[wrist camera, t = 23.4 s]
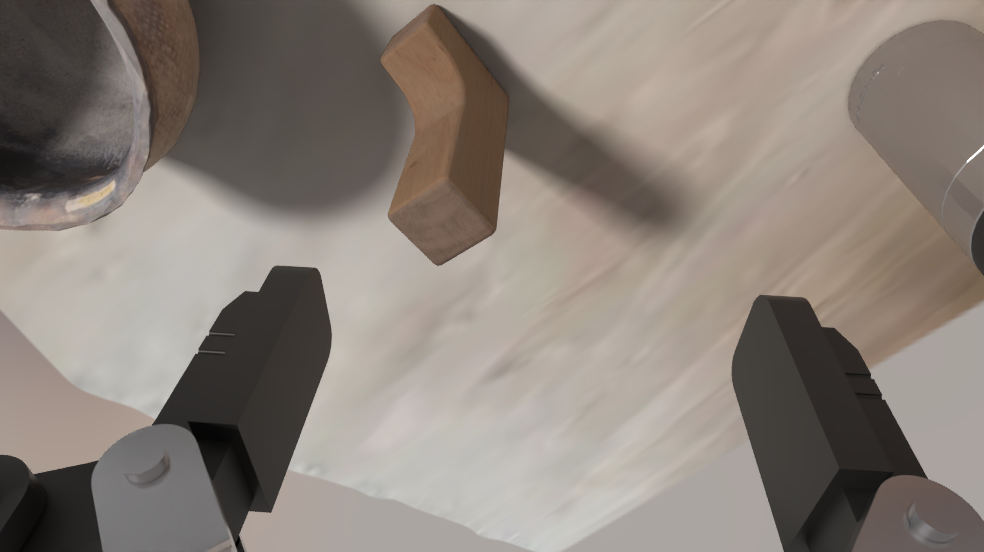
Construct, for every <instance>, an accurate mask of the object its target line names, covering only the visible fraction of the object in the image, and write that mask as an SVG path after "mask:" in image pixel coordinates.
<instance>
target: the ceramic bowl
mask: <svg viewBox="0 0 984 552" xmlns="http://www.w3.org/2000/svg"><path fill="white" fill-rule="evenodd" d="M199 73H200V53H199V43H198V37H197V28H196V24H195V20H194V17H193V13H192V10H191V7H190V4H189V1H188V0H0V229H8V230H52V231H60V230H64V229H68V228H72V227H76V226H80V225H85V224H89V223H91V222H93V221H95V220H98V219H100V218H102V217H104V216H106V215H108V214H109V213H111V212H112V211H114V210H115V209H117V208H118V207H120V206H121V205H122V204H123V203H124V202H125V201H126V199H127V197H128V196H129V195H130V194H131V193H132V192H133V190H134V189H135V187H136V185H137V184H138V183H139V181H140V180H141V177H142V175H143V172H145V171H146V170H148V169H149V168H150V167H152V166H153V165H154V164H155V163H156V162H158V161H159V160H160V159H161V158H162V157H164V156H165V155H166V154H167V153H168V152H169V151H170V149H171V148H172V147H173V146H174V145H175V144H176V142H177V140H178V138H179V137H180V135H181V133H182V131H183V129H184V127H185V125H186V123H187V121H188V119H189V117H190V114H191V112H192V109H193V106H194V103H195V100H196V96H197V87H198V81H199Z"/></svg>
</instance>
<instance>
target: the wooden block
mask: <svg viewBox="0 0 984 552" xmlns="http://www.w3.org/2000/svg"><path fill="white" fill-rule="evenodd" d="M380 61H381V63H382V65H383V66H384V68H385V69H386V70H387V72H388V73H389V74H390V75H391V77H392V78H393V79H394V81H395V82H396V83H397V85H398V86H399V87H400V89H401V90H402V91H403V92H404V94H405V96H406V98H407V101H408V103H409V105H410V108H411V110H412V112H413V115H414V117H415V137H414V140H413V143H412V146H411V149H410V152H409V154H408V157H407V160H406V163H405V166H404V169H403V172H402V175H401V177H400V180H399V183H398V186H397V189H396V192H395V195H394V198H393V200H392V203H391V206H390V209H389V212H388V218H389V219H390V221H391V222H392V223H393V224H394V225H395V226H396V227H397V228H398V229H399V230H400V231H401V232H402V233H403V234H404V235H405V236H406V237H407V238H408V239H409V240H410V241H411V242H412V243H413V244H414V245H415V246H416V247H417V248H418V249H420V250H421V251H422V252H423V253H424V254H425V255H426V256H427V257H428V258H429V259H430V260H431V261H432V262H433V263H434V264H435V265H437V266H439V265H442V264H444V263H446V262H447V261H449V260H451V259H452V258H454V257H456V256H457V255H459V254H461V253H462V252H464V251H466V250H468V249H469V248H471V247H473V246H474V245H476V244H478V243H479V242H481V241H483V240H484V239H486V238H488V237H489V236H491V235H492V234H493V233H494V232H495V231H496V227H497V217H498V207H499V197H500V187H501V178H502V168H503V158H504V148H505V138H506V128H507V118H508V109H509V97H508V95H507V94H506V93H505V92H504V90H503V89H502V88H501V86H500V85H499V84H498V83H497V81H496V80H495V79H494V77H493V76H492V75H491V74H490V72H489V71H488V70H487V68H486V67H485V66H484V65H483V63H482V62H481V61H480V59H479V58H478V57H477V56H476V54H475V53H474V52H473V50H472V49H471V48H470V47H469V45H468V44H467V43H466V41H465V40H464V39H463V38H462V36H461V35H460V34H459V32H458V31H457V30H456V29H455V27H454V26H453V25H452V24H451V22H450V21H449V20H448V18H447V17H446V16H445V15H444V13H443V12H442V11H441V9H440V8H439V7H438V6H437V5H435V4H433V5H430V6H429V7H428V8H426V9H425V10H424V11H423V12H422V13H420V14H419V15H418V16H417V17H416V18H415V19H413V20H412V21H411V22H410V23H409V24H407V25H406V26H405V27H404V28H403V29H402V30H400V31H399V32H398V33H397V34H396V35H394V36H393V37H392V39H391V41H390V42H389V44H388V46H387V48H386V49H385V51H384V53H383V55H382V57H381V59H380Z"/></svg>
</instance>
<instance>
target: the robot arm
mask: <svg viewBox="0 0 984 552" xmlns="http://www.w3.org/2000/svg"><path fill="white" fill-rule="evenodd" d="M848 109H849V114H850V118H851V120H852V122H853V124H854V126H855V127H856V129H857V130H858V131H859V132H860V133H861V134H862V136H863V137H864V138H865V139H866V140H867V141H868V143H869V144H870V145H871V146H872V147H873V148H874V149H875V151H876V152H877V153H878V154H879V156H880V157H881V158H882V159H883V160H884V161H885V162H886V164H887V165H888V166H889V167H890V168H891V169H892V171H893V172H894V173H895V174H896V175H897V176H898V177H899V179H900V180H901V181H902V182H903V183H904V184H905V185H906V187H907V188H908V189H909V190H910V191H911V192H912V194H913V195H914V196H915V197H916V198H917V199H918V200H919V202H920V203H921V204H922V205H923V206H924V207H925V209H926V210H927V211H928V212H929V213H930V214H931V215H932V217H933V218H934V219H935V220H936V221H937V222H938V223H939V225H940V226H941V227H942V228H943V229H944V230H945V232H946V233H947V234H948V235H949V236H950V237H951V238H952V240H954V242H955V243H956V244H957V245H958V246H959V247H960V248H961V250H962V251H963V252H964V253H965V254H966V255H967V256H968V258H969V259H970V260H971V261H972V262H973V263H974V265H975V266H976V267H977V268H978V269H979V270H980V272H981V273H982V274H983V275H984V34H983V33H981V32H979V31H978V30H976V29H974V28H973V27H971V26H969V25H967V24H964V23H960V22H957V21H942V20H940V21H934V22H928V23H923V24H921V25H918V26H915V27H912V28H909V29H907V30H905V31H903V32H901V33H899V34H898V35H896V36H894V37H892V38H891V39H890V40H888V41H887V42H886V43H884V44H883V45H881V46H880V47H879V48H878V49H877V50H876V51H875V52H874V53H873V54H872V55H871V56H870V57H869V58H868V59H867V60H866V62H865V63H864V65H863V66H862V67H861V69H860V70H859V71H858V73H857V75H856V77H855V79H854V81H853V83H852V87H851V90H850V94H849V102H848ZM331 340H332V332H331V324H330V319H329V314H328V309H327V304H326V299H325V294H324V289H323V284H322V279H321V275H320V272H319V271H318V269H317V268H310V267H293V266H275V267H273V268H272V269H271V271H270V273H269V274H268V276H267V278H266V280H265V282H264V283H263V285H262V287H261V289H260V291H259V292H249V291H245V292H243V293H242V294H241V295H240V296H238V297H237V298H236V299H235V300H234V301H232V302H231V303H230V304H229V305H227V306H226V307H225V308H224V309H222V311H221V313H220V314H219V316H218V318H217V319H216V321H215V323H214V324H213V326H212V328H211V329H210V331H209V336H206V337H205V339H204V341H203V342H202V344H201V346H200V347H199V352H198V354H195V356H194V357H193V359H192V361H191V362H190V364H189V366H188V367H187V369H186V371H185V372H184V374H183V375H182V377H181V379H180V380H179V382H178V384H177V385H176V387H175V389H174V390H173V392H172V394H171V395H170V397H169V399H168V400H167V402H166V404H165V405H164V407H163V409H162V410H161V412H160V414H159V415H158V417H157V418H156V420H155V422H154V423H153V424H152V426H148V427H145V428H142V429H138V430H136V431H134V432H132V433H130V434H128V435H126V436H124V437H123V438H121V439H120V440H118V441H117V442H116V443H115V444H113V445H112V446H111V447H110V448H109V449H108V450H107V451H106V452H105V453H104V454H103V455H102V457H101V458H100V459H99V460H98V461H94V462H91V463H86V464H81V465H76V466H71V467H67V468H62V469H57V470H52V471H47V472H43V473H38V474H33V473H32V472H31V471H30V470H29V468H28V467H27V466H26V464H25V463H24V462H23V461H22V460H20V459H18V458H16V457H13V456H8V455H0V552H246V549H245V546H244V543H243V540H242V537H241V535H240V531H241V528H242V526H243V524H244V521H245V519H246V516H247V514H248V511H255V512H270V513H271V512H272V509H273V506H274V504H275V501H276V498H277V495H278V493H279V490H280V488H281V485H282V482H283V479H284V477H285V474H286V471H287V469H288V466H289V463H290V461H291V458H292V455H293V453H294V450H295V447H296V445H297V442H298V439H299V437H300V434H301V431H302V428H303V426H304V423H305V420H306V418H307V415H308V412H309V410H310V407H311V404H312V402H313V399H314V396H315V394H316V391H317V388H318V385H319V383H320V380H321V377H322V375H323V372H324V369H325V367H326V364H327V361H328V358H329V354H330V349H331ZM732 382H733V387H734V390H735V393H736V397H737V400H738V403H739V406H740V410H741V413H742V416H743V420H744V423H745V426H746V429H747V433H748V436H749V439H750V442H751V445H752V449H753V452H754V455H755V458H756V462H757V465H758V468H759V472H760V475H761V478H762V481H763V485H764V488H765V491H766V494H767V498H768V501H769V504H770V507H771V511H772V514H773V517H774V520H775V524H776V527H777V530H778V533H779V537H780V540H781V543H782V547H783V550H784V552H984V521H983V520H982V518H981V517H980V516H979V514H978V513H977V512H976V511H975V510H974V509H973V507H972V506H971V505H970V504H969V503H967V502H966V501H965V500H964V499H963V498H962V497H960V496H959V495H957V494H956V493H955V492H953V491H951V490H950V489H948V488H947V487H945V486H943V485H941V484H939V483H937V482H935V481H932V480H929V479H928V478H927V476H926V475H925V473H924V471H923V469H922V467H921V466H920V464H919V462H918V460H917V458H916V457H915V455H914V453H913V451H912V449H911V447H910V445H909V444H908V441H907V440H906V438H905V436H904V434H903V432H902V430H901V429H900V427H899V425H898V423H897V421H896V419H895V418H894V416H893V414H892V412H891V410H890V408H889V406H888V405H887V403H886V401H885V400H882V394H881V392H880V390H879V388H878V386H877V384H876V383H875V381H874V379H871V373H870V371H869V370H868V368H867V366H866V364H865V362H864V360H863V359H862V357H861V355H860V353H859V351H858V350H857V349H856V348H855V347H854V346H853V345H852V344H851V343H850V342H849V341H848V340H847V339H846V338H844V337H843V336H842V335H841V334H840V333H839V332H838V331H837V330H836V329H835V328H827V327H821V325H820V323H819V321H818V319H817V317H816V315H815V313H814V311H813V309H812V307H811V305H810V303H809V302H808V300H807V299H805V298H803V297H787V296H770V295H760V296H758V297H757V298H756V300H755V301H754V303H753V306H752V308H751V311H750V313H749V316H748V319H747V321H746V324H745V326H744V329H743V332H742V334H741V337H740V339H739V342H738V345H737V347H736V350H735V353H734V356H733V361H732Z"/></svg>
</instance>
